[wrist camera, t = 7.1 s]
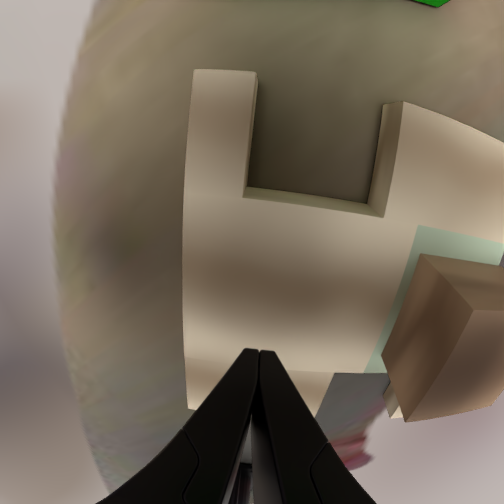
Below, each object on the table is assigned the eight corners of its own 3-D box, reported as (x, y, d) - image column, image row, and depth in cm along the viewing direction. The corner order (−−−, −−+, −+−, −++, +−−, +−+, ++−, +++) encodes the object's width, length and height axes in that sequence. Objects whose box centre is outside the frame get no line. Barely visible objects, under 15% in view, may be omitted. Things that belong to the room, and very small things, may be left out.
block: (460, 353, 12) (491, 405, 8) (380, 355, 12) (405, 422, 9) (500, 266, 10) (550, 310, 6) (420, 253, 10) (473, 310, 6)
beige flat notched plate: (407, 393, 16) (416, 415, 14) (194, 383, 16) (188, 408, 14) (500, 149, 10) (526, 155, 8) (206, 78, 10) (194, 69, 8)
